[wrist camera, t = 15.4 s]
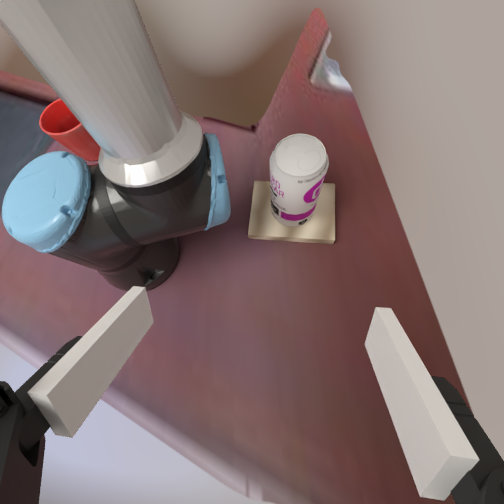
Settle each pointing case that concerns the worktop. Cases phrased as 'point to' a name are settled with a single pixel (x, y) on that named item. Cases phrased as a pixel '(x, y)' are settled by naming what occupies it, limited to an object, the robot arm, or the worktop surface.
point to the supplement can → (296, 178)
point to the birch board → (270, 229)
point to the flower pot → (68, 130)
